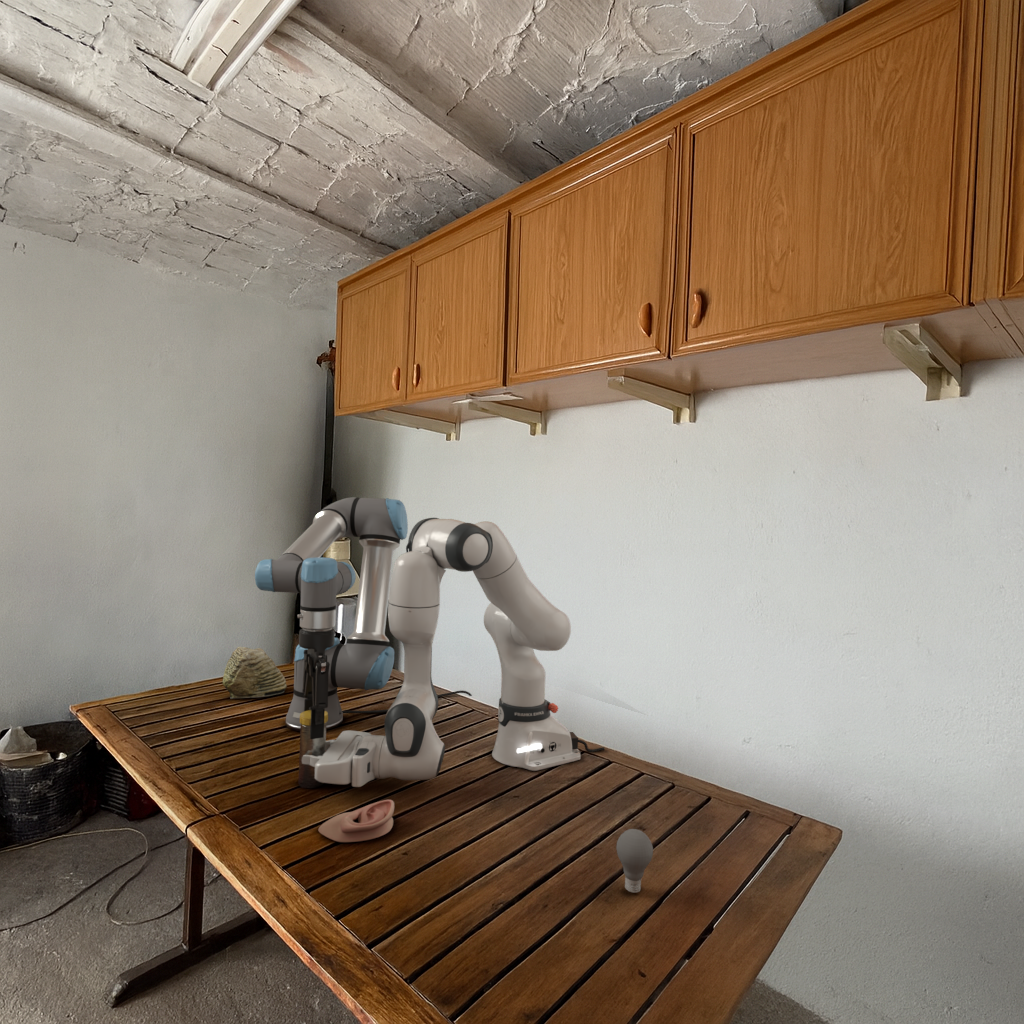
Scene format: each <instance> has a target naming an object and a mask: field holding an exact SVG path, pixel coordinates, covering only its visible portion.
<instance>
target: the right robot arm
mask: <svg viewBox="0 0 1024 1024" xmlns="http://www.w3.org/2000/svg"><path fill="white" fill-rule="evenodd" d="M405 551H406V552H403V553H402V554H400V555H399V556H398V557H397V558H396V559H395V561H394V564H393V567H392V571H391V580H390V589H389V598H388V607H387V618H388V619H387V620H388V627H389V631H390V633H391V635H392V636H393V637H394V638H395V639H396V640H397V641H399V642H401V644H402V647H403V655H404V656H403V682H402V685H401V687H400V689H399V691H398V693H397V694H396V697H395V699H394V700H393V702H392V704H391V705H390V706H389V708H388V709H389V710H388V712H386V714H385V716H384V723H383V724H384V734H385V735H379V734H378V735H377V734H372V733H370V732H365V731H359V730H350V729H348V730H343V731H341V733H340V734H339V735H338V736H337V737H336V739H329V740H326V748H325V753H324V754H323V756H318V757H316V756H312V754H305V755H304V756H303V757H302V764H307V765H311V766H313V767H315V779H316V780H317V781H319V782H322V783H323V784H329V785H330V784H332V785H349V784H351V787H353V788H361V787H363V786H364V785H366V784H368V783H369V782H371V781H373V780H375V779H381V780H382V779H383V780H384V779H388V778H394V779H397V780H400V781H428V780H431V779H432V780H433V779H435V778H436V777H437V776H438V775H439V774H440V771H441V768H442V765H443V761H444V757H445V753H446V745H445V743H444V741H442V740H441V738H440V736H439V735H438V733H437V731H436V729H435V726H434V723H433V719H434V718H435V716H436V714H437V713H438V709H439V697H437V695H438V693H437V691H436V689H435V686H434V684H433V680H432V664H433V663H432V660H433V659H432V658H433V642H434V639H435V636H436V633H437V627H438V623H439V616H440V607H441V604H440V603H441V582H442V580H443V577H444V575H445V573H446V571H447V570H446V569H448V570H454V571H458V572H460V573H462V572H464V573H467V572H473V574H474V576H475V578H476V580H477V582H478V584H479V585H480V587H481V589H482V591H483V592H484V595H485V597H486V598H487V600H488V601H489V602H490V603H489V604H488V605H487V607H486V608H485V611H484V614H483V626H484V628H485V630H486V631H487V633H488V634H489V635H490V637H491V638H492V641H493V642H494V645H495V648H496V651H497V654H498V659H499V664H500V672H501V673H500V674H501V675H500V677H501V679H500V681H501V682H500V698H499V699H498V707H497V708H498V709H497V710H498V711H497V721H498V727H497V732H496V738H495V742H494V746H493V749H492V752H491V756H492V758H493V759H494V760H495V761H497V762H498V763H500V764H503V765H506V766H510V767H517V768H522V769H526V770H528V771H533V772H536V771H540V770H545V769H549V768H552V767H556V766H557V767H558V766H561V765H564V764H569V763H573V762H576V761H580V760H581V758H582V756H581V751H580V749H579V744H582V745H583V746H584V749H585V751H587V752H588V753H597V752H601V751H605V747H597V748H594V749H590V748H589V747H588V744H587V742H586V741H584V740H582V739H579V737H578V736H577V735H576V733H574V731H570V730H569V729H568V728H567V727H566V726H565V725H564V724H563V723H562V722H560V720H559V719H557V718H556V717H554V716H553V715H552V714H557V713H558V711H559V705H556V703H554V702H550V701H549V700H547V699H546V677H547V676H546V675H547V674H546V669H545V667H544V666H543V664H542V663H541V661H540V660H539V659H538V657H537V655H536V652H535V650H536V651H541V652H558V651H560V650H562V649H563V648H564V647H565V646H566V645H567V644H568V642H569V640H570V638H571V633H572V624H571V621H570V617H569V616H568V615H567V613H565V612H563V611H562V610H560V609H559V608H558V607H556V606H555V605H554V604H553V603H552V602H551V601H549V600H548V599H547V598H546V596H544V594H543V593H542V592H541V591H540V589H538V587H536V586H535V584H534V583H533V582H532V580H531V579H530V578H529V576H528V574H527V572H526V571H525V569H524V566H523V564H522V563H521V561H520V559H519V557H518V555H517V553H516V551H515V548H514V547H513V545H512V543H511V542H510V541H509V539H508V537H507V536H506V535H505V533H504V532H503V531H502V530H501V528H500V527H499V526H498V524H496V523H494V522H492V521H479V522H476V523H472V522H465V521H463V520H459V519H454V518H438V517H428V518H427V517H426V518H423V519H421V520H419V521H418V522H416V523H415V524H414V526H413V527H412V529H411V531H410V533H409V536H408V539H407V543H406V546H405ZM551 713H552V714H551Z"/></svg>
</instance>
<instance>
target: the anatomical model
mask: <svg viewBox="0 0 1024 1024" xmlns="http://www.w3.org/2000/svg"><path fill="white" fill-rule="evenodd" d="M394 812H395V801H394V800H392V799H384V800H380V801H377V802H373V803H370V804H368V805H365V806H363V807H360V808H357V809H355V810H353V811H348V812H343V813H340V814H337V815H334V816H333V817H331V818H330V819H328V820H326V821H325V822H323V823H322V824H321V825H320V826H319V827H318V829H317V830H318V832H319V834H321V835H322V836H324V837H325V838H328V839H330V840H332V841H334V842H337V843H355V842H363V841H370V840H374V839H376V838H380V837H382V836H384V835H386V834H388V833H389V832H390V831H391V830H392V828H393V826H394V818H393V815H394Z"/></svg>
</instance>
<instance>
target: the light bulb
mask: <svg viewBox="0 0 1024 1024" xmlns="http://www.w3.org/2000/svg"><path fill="white" fill-rule="evenodd" d="M615 849H616V854H617V857H618V859H619V861H620V863H621V865H622V867H623V873H624V874H623V875H624V876H625V878H624V888H625V890H627V891H628V892H630V893H634V894H635V893H639V892H640V891H641V889H642V887H641V886H642V879H643V877H644V875H645V871H646V868H647V867H648V866H649V864H650V863H651V861H652V859H653V855H654V847H653V843H652V841H651V838H649V836H648V835H647V834H646V833H645V832H643V831H642V830H641V829H636V828H629V829H627V830H625V831H623V832H622V833H621V834H620V835H619V837H618V839H617V841H616V847H615Z"/></svg>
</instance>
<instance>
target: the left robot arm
mask: <svg viewBox="0 0 1024 1024" xmlns="http://www.w3.org/2000/svg"><path fill="white" fill-rule="evenodd" d="M408 525H409V524H408V514H407V510H406V507H405V504H404V502H403V501H401V500H400V499H395V498H388V497H385V498H383V497H382V498H379V497H357V496H352V497H351V496H350V497H346V498H345V497H344V498H342V499H339V500H337V501H336V500H335V501H334V502H332V503H330V504H328V505H326V506H324V507H323V508H322V509H321V510H320V511H319V512H317V514H315V516H314V517H313V519H312V524H311V525H310V526H308V528H307V529H306V530H304V531H303V532H302V533H301V534H300V535H299V536H298V538H296V539H295V541H293V543H291V545H290V546H289V547H288V548H287V549H286V550H284V551H283V552H282V553H281V554H280V556H279V557H278V558H277V559H273V558H269V559H262V560H260V561H259V562H258V563H257V565H256V567H255V571H254V580H255V585H256V587H257V589H259V590H260V591H265V592H272V593H293V594H300V607H299V609H300V613H299V614H297V616H296V617H297V619H299V627H300V628H301V629H299V631H298V644H297V645H296V647H295V654H294V659H293V661H294V670H293V671H294V672H293V695H292V696H293V697H292V699H291V702H290V704H289V708H288V711H287V713H286V715H285V726H286V728H287V729H289V730H291V731H294V732H295V731H296V732H300V730H301V723H300V714H301V713H302V712H304V711H308V710H311V726H310V739H316V738H323V737H324V713H325V711H327V712H328V721H327V722H326V731H329V730H332V729H335V728H337V727H339V726H340V725H342V723H343V722H344V714H382V713H387V712H388V710H389V708H388V709H377V710H343V709H342V706H341V702H340V699H339V695H338V688H340V689H355V690H356V689H357V690H365V691H370V690H382V689H383V688H384V687H385V686H386V685H387V684H388V682H389V680H390V677H391V675H392V672H393V668H394V663H395V649H394V648H393V647H392V646H390V640H389V638H388V637H387V636H386V625H387V617H388V600H389V589H390V582H391V576H392V572H393V560H394V552H395V551H396V550H397V549H398V548H399V547H400V544H401V541H403V540H406V538H407V536H408V531H409V527H408ZM346 537H349V538H351V537H352V538H353V537H355V538H359V539H358V543H359V544H360V545H361V547H362V559H361V566H360V567H361V568H360V575H359V584H358V592H357V601H356V609H355V616H354V617H355V618H354V625H353V631H352V633H351V634H350V635H348V636H347V638H346V643H345V644H341V641H340V639H339V638H338V637H336V630H335V629H334V628H335V626H336V623H337V622H336V620H337V618H336V617H337V596H338V595H342V594H345V593H346V592H348V591H349V590H350V589H351V588H353V586H354V585H355V582H356V578H357V576H356V571H355V569H354V567H353V566H352V565H351V564H350V563H348V562H346V561H337V560H336V559H335V558H332V557H323V555H324V553H326V551H327V550H328V549H329V548H330V547H331V546H332V544H333V543H334V542H338V541H340V540H341V539H343V538H346ZM457 694H466V695H467V696H469V697H472V696H473V694H472V693H471V692H469V691H467V690H455V691H452V692H446V693H440V694H437V697H438V698H441V697H447V696H453V695H457Z"/></svg>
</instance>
